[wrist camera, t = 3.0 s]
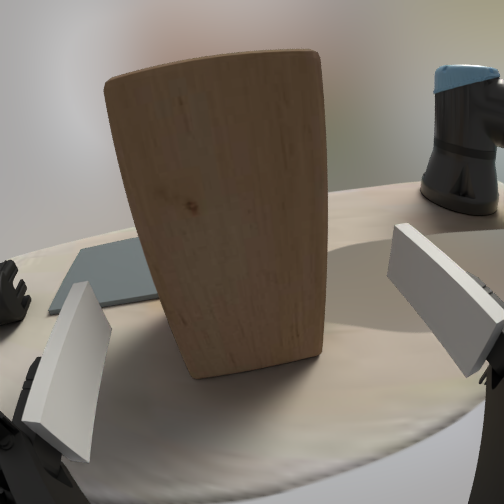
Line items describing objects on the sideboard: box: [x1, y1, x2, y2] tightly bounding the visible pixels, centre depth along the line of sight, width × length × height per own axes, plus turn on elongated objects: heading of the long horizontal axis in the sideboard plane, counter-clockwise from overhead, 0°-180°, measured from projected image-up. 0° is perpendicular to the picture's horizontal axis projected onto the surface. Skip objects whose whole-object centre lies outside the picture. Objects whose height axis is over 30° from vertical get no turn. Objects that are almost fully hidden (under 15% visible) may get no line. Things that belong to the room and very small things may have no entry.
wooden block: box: [104, 49, 328, 379], centre depth 20 cm, size 10×10×20 cm
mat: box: [48, 237, 159, 314], centre depth 35 cm, size 16×14×1 cm
